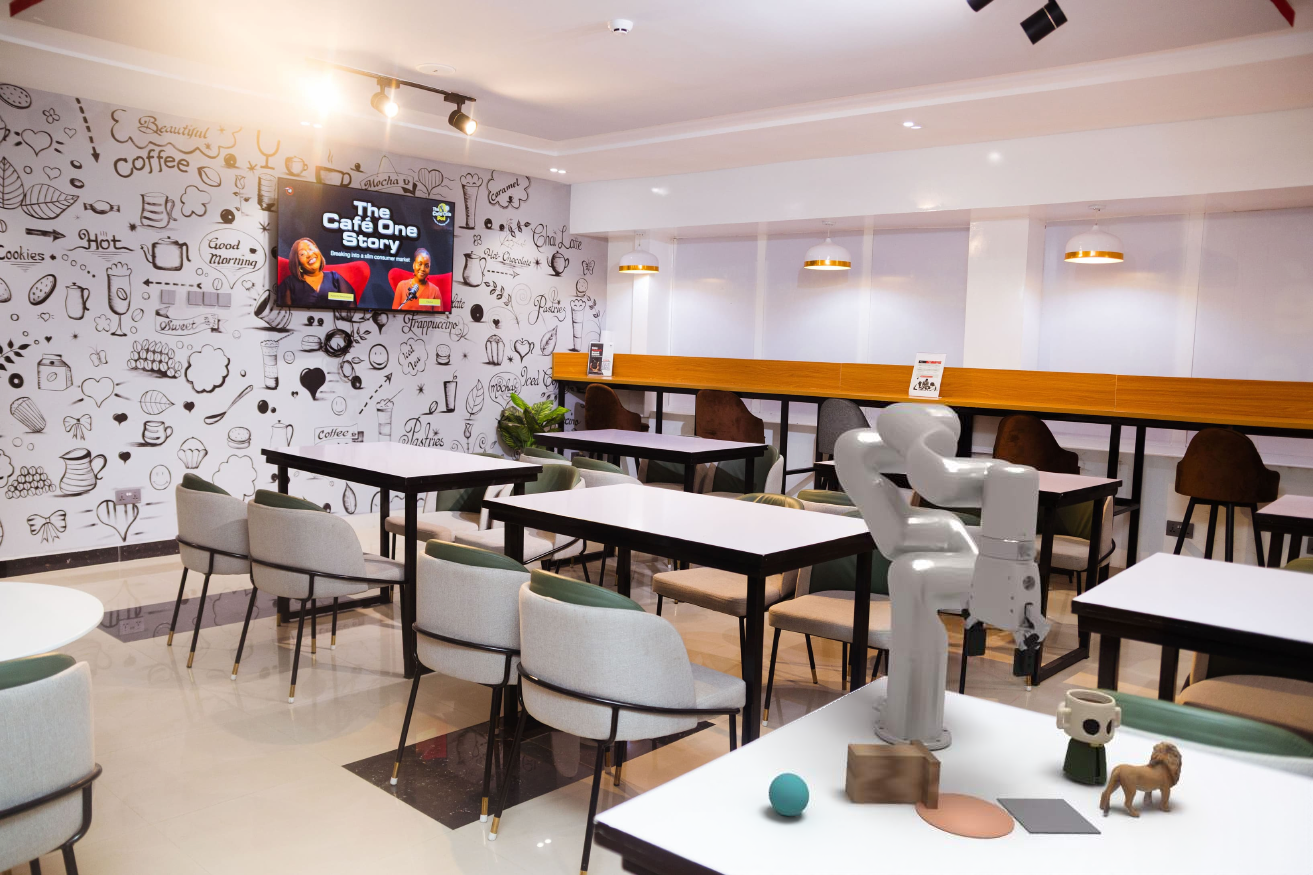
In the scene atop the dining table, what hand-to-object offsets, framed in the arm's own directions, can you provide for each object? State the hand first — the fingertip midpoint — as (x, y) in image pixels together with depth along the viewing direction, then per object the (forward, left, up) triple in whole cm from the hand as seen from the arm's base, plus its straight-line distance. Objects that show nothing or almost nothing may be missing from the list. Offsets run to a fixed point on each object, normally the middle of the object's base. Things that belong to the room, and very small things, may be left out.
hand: (998, 665), depth 135 cm
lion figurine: (+13, +17, -20) cm, 29 cm away
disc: (+3, -9, -19) cm, 22 cm away
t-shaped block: (-6, -15, -19) cm, 25 cm away
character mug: (+3, +19, -20) cm, 27 cm away
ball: (-8, -31, -16) cm, 36 cm away
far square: (+8, +2, -19) cm, 21 cm away
